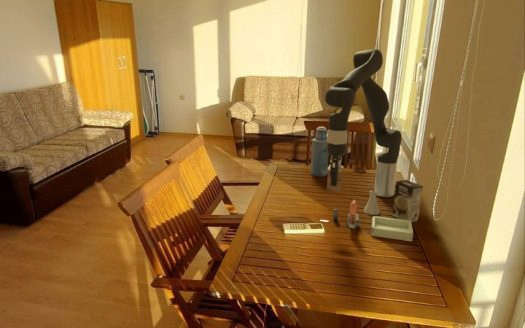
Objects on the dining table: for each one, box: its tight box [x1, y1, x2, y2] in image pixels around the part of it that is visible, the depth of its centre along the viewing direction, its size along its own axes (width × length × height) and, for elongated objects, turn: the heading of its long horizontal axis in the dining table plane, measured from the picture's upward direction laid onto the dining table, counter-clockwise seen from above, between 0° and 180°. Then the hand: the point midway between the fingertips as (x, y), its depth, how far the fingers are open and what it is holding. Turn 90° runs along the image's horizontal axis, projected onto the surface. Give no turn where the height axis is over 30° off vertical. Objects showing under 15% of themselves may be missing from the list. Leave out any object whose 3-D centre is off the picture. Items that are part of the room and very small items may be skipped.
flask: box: [363, 190, 381, 216], centre depth 163 cm, size 7×7×10 cm
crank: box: [347, 199, 360, 229], centre depth 145 cm, size 12×4×11 cm, turn 162°
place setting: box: [349, 159, 366, 174], centre depth 221 cm, size 18×20×6 cm
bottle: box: [310, 126, 329, 178], centre depth 208 cm, size 10×10×30 cm
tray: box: [370, 215, 414, 242], centre depth 145 cm, size 12×15×3 cm
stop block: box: [326, 164, 344, 193], centre depth 142 cm, size 5×5×9 cm
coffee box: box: [391, 179, 424, 223], centre depth 156 cm, size 9×6×16 cm
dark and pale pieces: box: [319, 208, 360, 229], centre depth 152 cm, size 6×16×5 cm, turn 72°
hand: (334, 183), depth 143 cm, fingers closed on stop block, 5 cm apart
